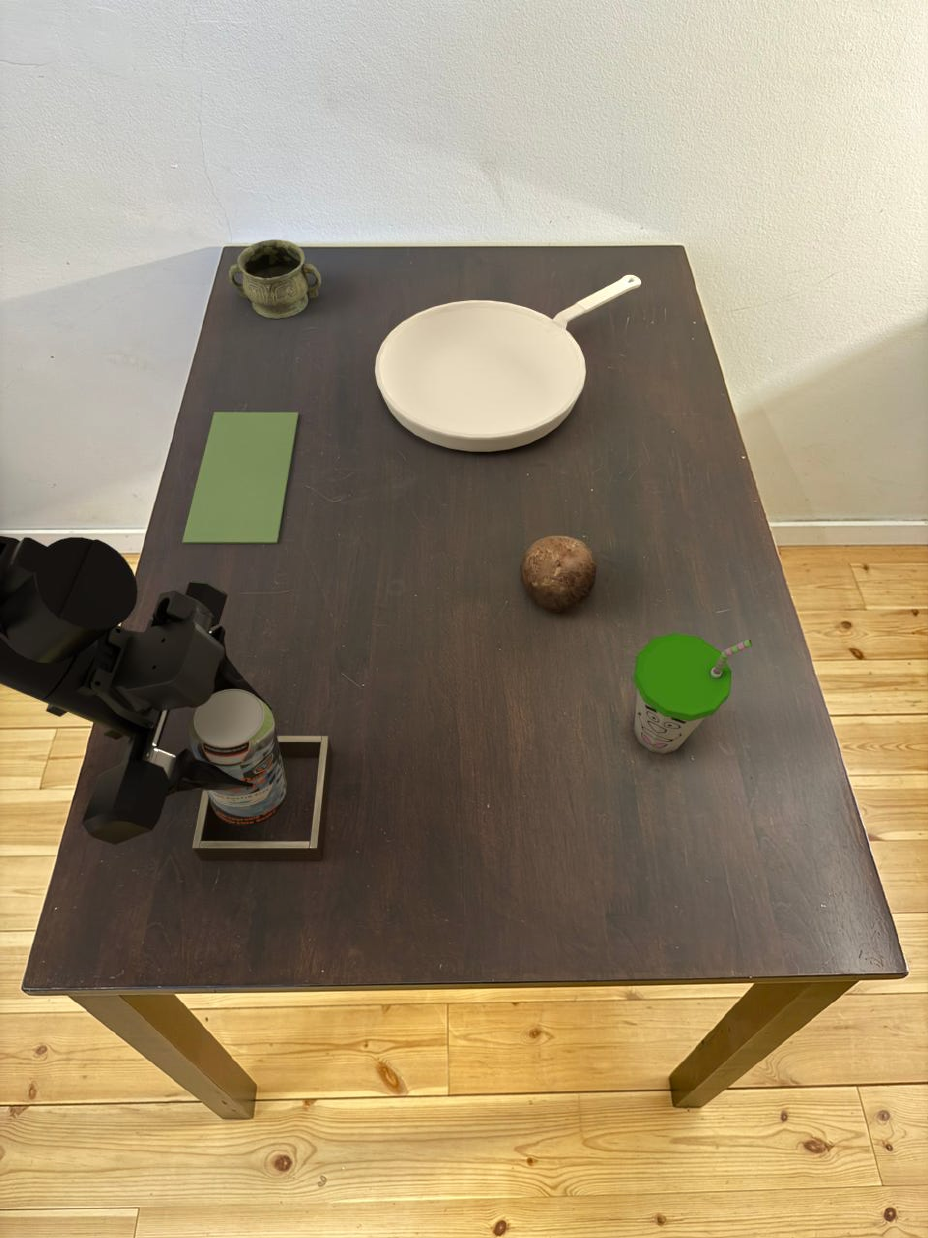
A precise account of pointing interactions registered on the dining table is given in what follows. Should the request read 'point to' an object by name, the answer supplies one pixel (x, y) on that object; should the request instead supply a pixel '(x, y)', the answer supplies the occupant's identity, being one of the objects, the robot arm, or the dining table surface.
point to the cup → (678, 688)
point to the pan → (485, 371)
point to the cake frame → (274, 849)
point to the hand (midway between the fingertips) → (259, 749)
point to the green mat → (242, 479)
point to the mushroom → (558, 573)
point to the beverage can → (240, 755)
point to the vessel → (275, 278)
